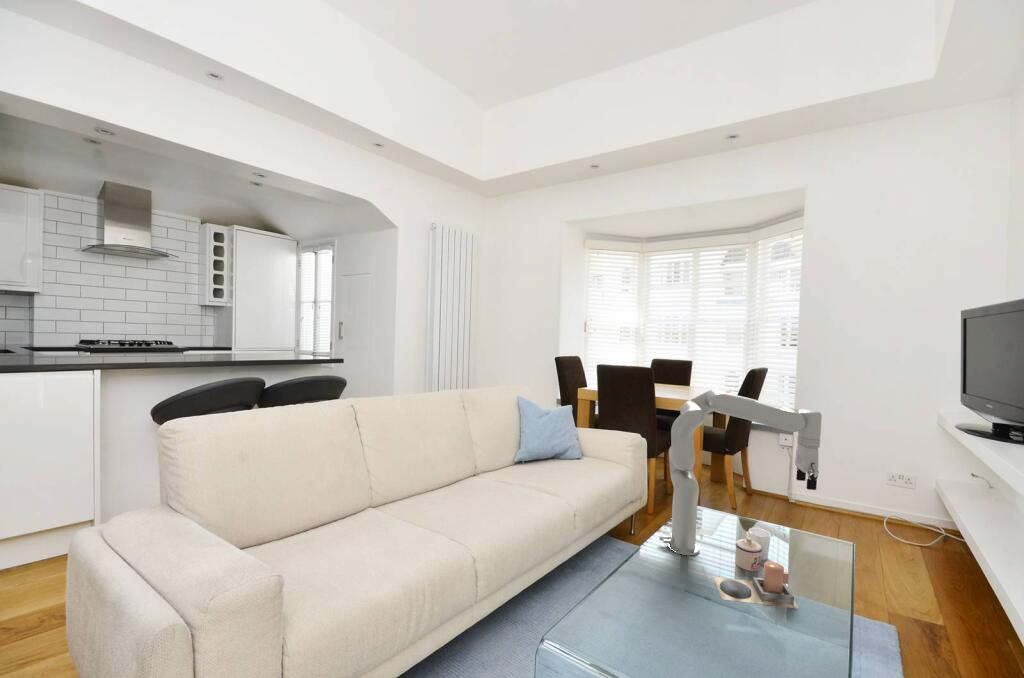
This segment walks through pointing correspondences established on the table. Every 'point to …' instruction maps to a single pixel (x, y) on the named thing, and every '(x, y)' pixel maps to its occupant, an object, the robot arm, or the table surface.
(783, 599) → the board
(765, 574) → the peach rounded peg
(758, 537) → the white cup
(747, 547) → the teacup with lid
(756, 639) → the table surface
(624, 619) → the table surface
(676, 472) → the robot arm
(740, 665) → the table surface
